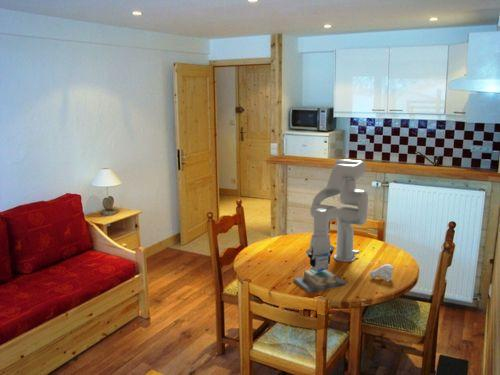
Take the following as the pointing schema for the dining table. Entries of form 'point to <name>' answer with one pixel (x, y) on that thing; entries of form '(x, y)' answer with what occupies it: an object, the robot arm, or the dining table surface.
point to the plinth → (314, 289)
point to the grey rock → (383, 272)
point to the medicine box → (320, 262)
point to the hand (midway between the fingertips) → (320, 264)
